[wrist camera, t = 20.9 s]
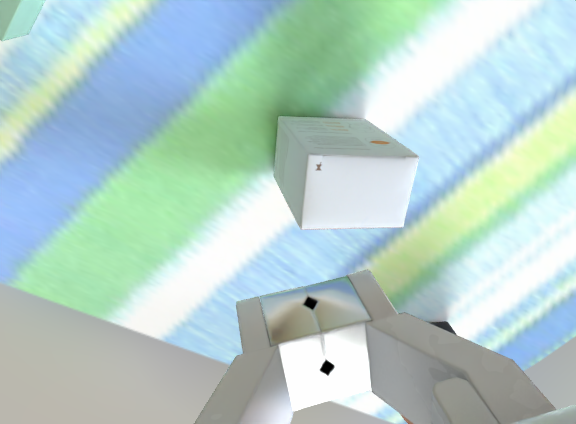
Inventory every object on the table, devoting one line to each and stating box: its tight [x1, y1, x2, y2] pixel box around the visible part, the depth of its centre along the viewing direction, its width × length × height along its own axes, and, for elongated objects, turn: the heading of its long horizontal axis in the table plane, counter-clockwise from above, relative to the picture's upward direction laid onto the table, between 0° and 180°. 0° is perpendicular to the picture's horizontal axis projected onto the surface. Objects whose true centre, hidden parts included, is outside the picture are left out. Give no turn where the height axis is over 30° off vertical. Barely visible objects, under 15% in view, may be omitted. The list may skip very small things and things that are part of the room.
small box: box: [274, 116, 419, 230], centre depth 35 cm, size 8×6×10 cm
